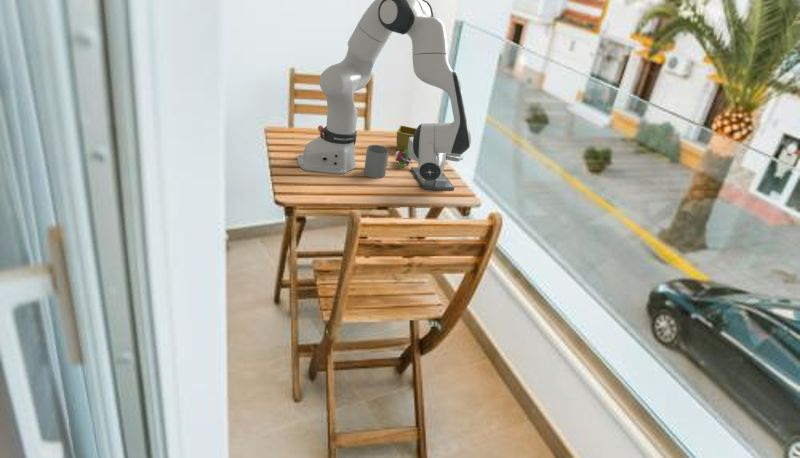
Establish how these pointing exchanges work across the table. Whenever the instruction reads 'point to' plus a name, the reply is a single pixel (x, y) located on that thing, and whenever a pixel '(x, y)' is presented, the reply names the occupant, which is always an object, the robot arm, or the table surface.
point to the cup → (376, 161)
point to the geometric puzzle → (403, 158)
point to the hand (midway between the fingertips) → (437, 141)
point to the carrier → (433, 182)
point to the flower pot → (404, 137)
